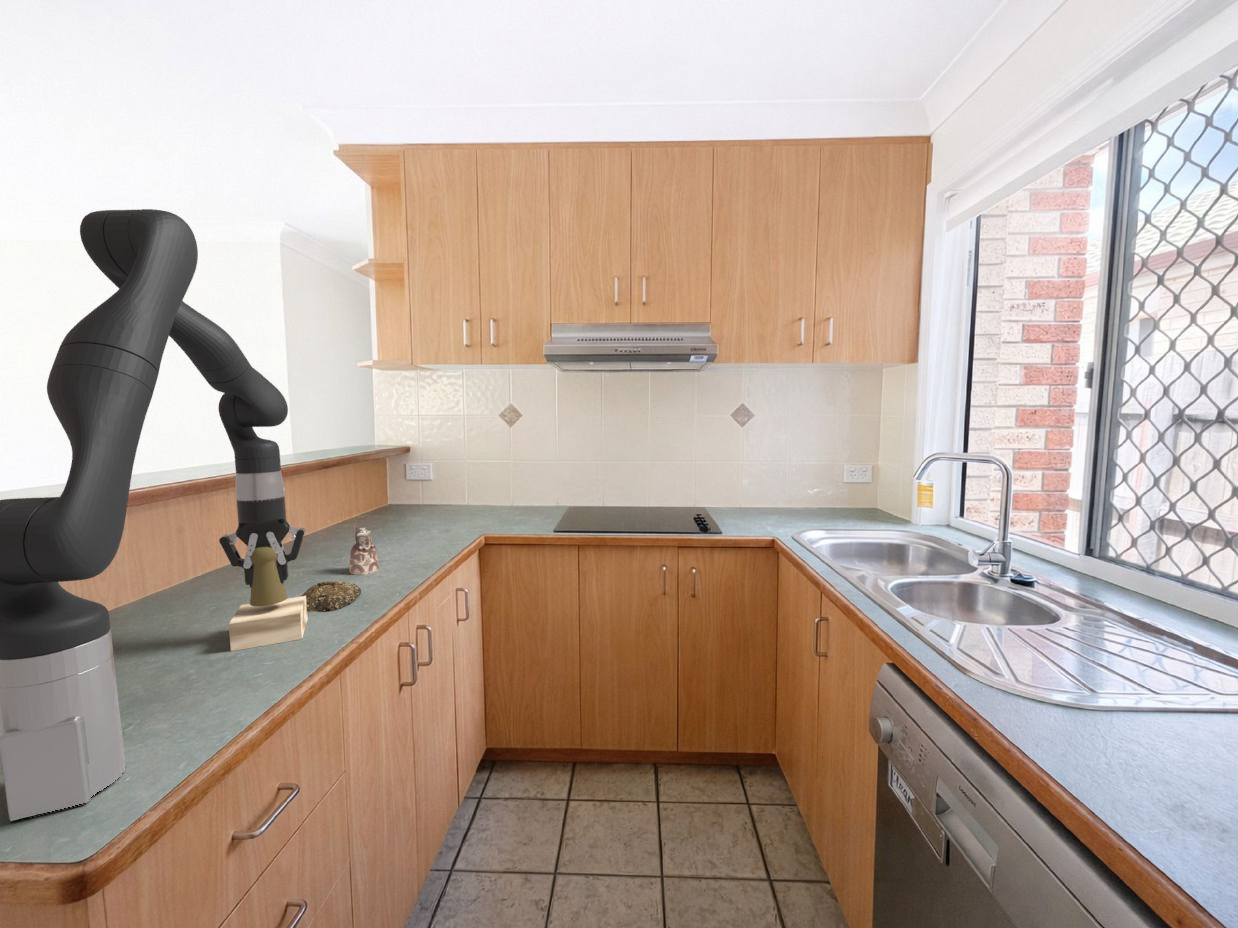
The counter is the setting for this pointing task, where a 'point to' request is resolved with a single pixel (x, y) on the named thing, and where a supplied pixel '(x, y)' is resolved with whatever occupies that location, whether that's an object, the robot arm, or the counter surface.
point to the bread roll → (331, 595)
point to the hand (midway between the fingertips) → (267, 583)
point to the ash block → (268, 623)
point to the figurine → (363, 553)
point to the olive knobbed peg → (266, 578)
